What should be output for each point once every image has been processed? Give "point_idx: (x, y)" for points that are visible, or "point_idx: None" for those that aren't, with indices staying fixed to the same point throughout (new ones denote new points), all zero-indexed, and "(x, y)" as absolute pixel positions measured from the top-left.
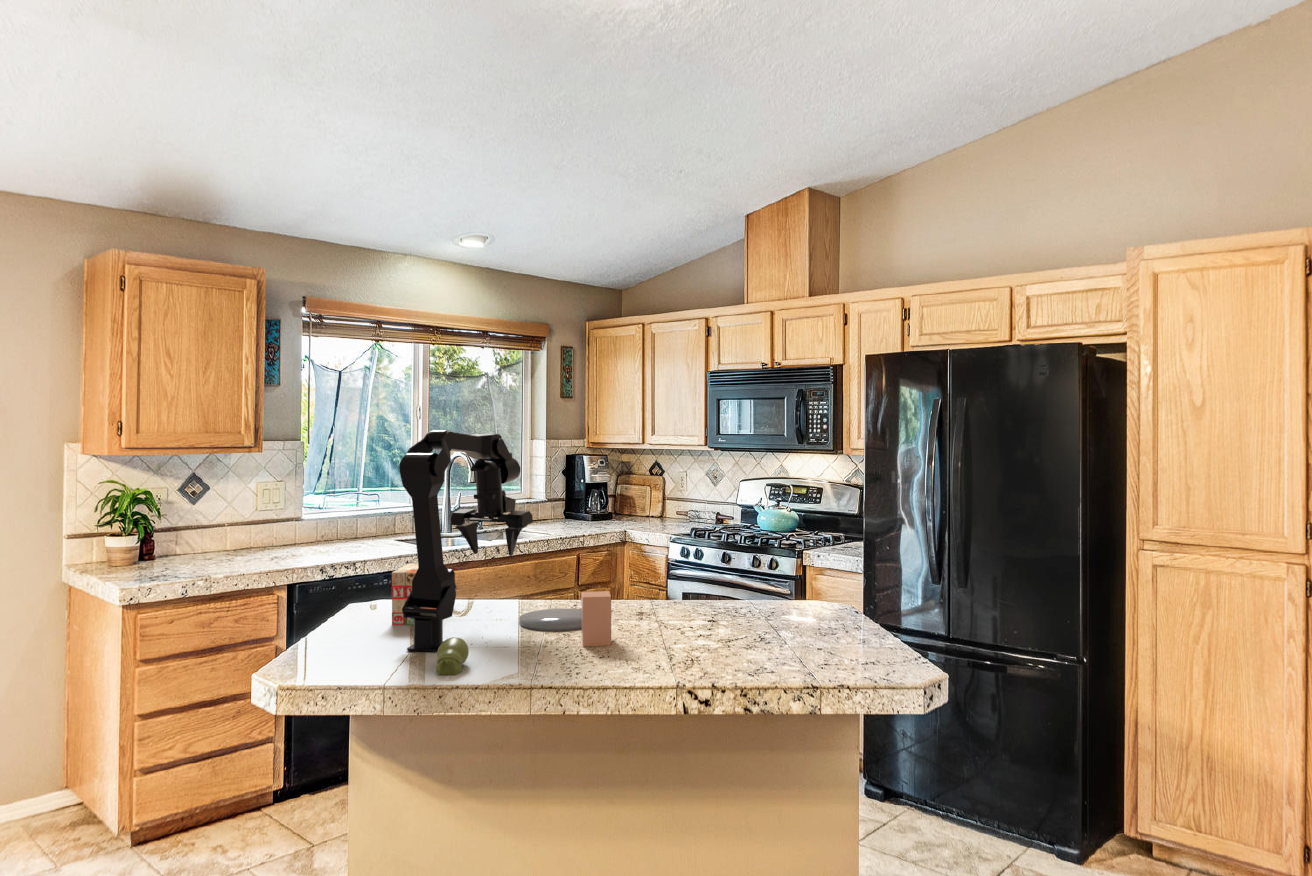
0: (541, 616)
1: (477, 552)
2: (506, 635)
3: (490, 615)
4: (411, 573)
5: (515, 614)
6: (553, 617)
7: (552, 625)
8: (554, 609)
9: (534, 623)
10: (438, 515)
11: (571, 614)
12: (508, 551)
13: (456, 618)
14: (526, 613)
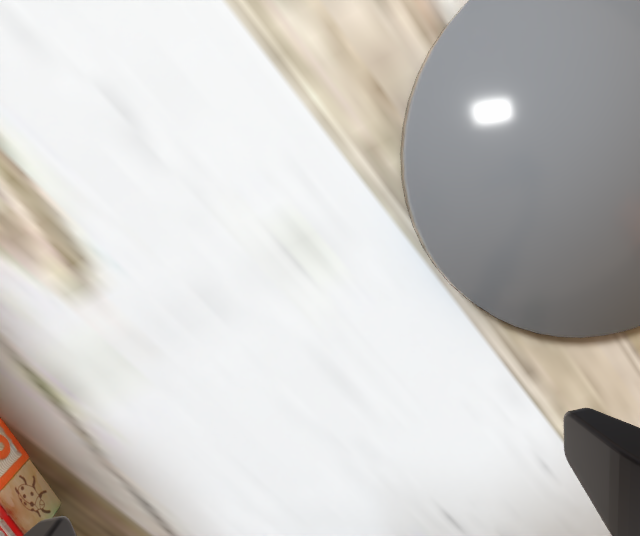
0: (520, 190)
1: (65, 527)
2: (514, 453)
3: (198, 197)
4: None
5: (294, 114)
6: (585, 179)
7: None
8: (489, 8)
9: (570, 325)
10: None
11: (632, 74)
12: (609, 522)
13: (104, 330)
14: (414, 171)
